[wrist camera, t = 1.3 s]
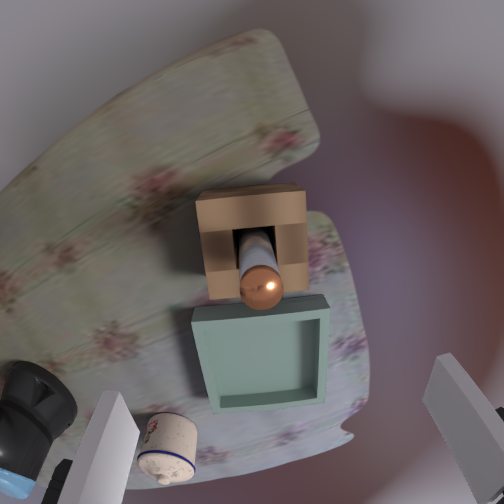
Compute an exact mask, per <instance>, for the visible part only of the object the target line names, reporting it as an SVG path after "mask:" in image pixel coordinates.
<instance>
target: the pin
mask: <svg viewBox="0 0 504 504" xmlns="http://www.w3.org/2000/svg"><path fill="white" fill-rule="evenodd" d="M239 281H240V296H241V299H242V301H243V302H244V303H245V304H246V305H247V306H249V307H250V308H253V309H256V310H266V309H269V308H272V307H274V306H275V305H276V304H277V303H279V301H280V300H281V298H282V296H283V293H284V286H283V283H282V279H281V276H280V273H279V269H278V266H277V263H276V259H275V256H274V253H273V249H272V246H271V243H270V240H269V236H268V233H267V230H266V227H265V226H263V227H252V228H242V229H239Z"/></svg>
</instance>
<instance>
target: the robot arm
mask: <svg viewBox="0 0 504 504" xmlns="http://www.w3.org/2000/svg"><path fill="white" fill-rule="evenodd" d="M422 401H423V403H424V404H425V406H426V408H427V410H428V411H429V413H430V415H431V417H432V418H433V420H434V422H435V424H436V425H437V427H438V429H439V431H440V432H441V434H442V436H443V438H444V440H445V441H446V443H447V445H448V447H449V449H450V451H451V452H452V454H453V456H454V458H455V460H456V462H457V464H458V465H459V467H460V469H461V471H462V473H463V475H464V477H465V479H466V481H467V483H468V485H469V487H470V489H471V491H472V493H473V495H474V497H475V499H476V501H477V503H478V504H488V503H490V502H492V501H494V500H495V499H496V498H497V497H498V496H499V495H500V494H501V493H503V495H504V408H502V407H500V408H498V409H496V410H495V409H494V408H493V407H492V405H491V404H490V403H489V401H488V400H487V399H486V397H485V396H484V395H483V393H482V392H481V391H480V389H479V388H478V387H477V386H476V384H475V383H474V382H473V380H472V379H471V378H470V377H469V375H468V374H467V373H466V371H465V370H464V369H463V368H462V367H461V365H460V364H459V363H458V362H457V360H456V359H455V358H454V357H453V356H452V354H451V353H447V354H444V355H441V356H437V357H436V360H435V363H434V367H433V370H432V373H431V376H430V379H429V382H428V385H427V388H426V391H425V394H424V397H423V400H422ZM76 415H77V405H76V402H75V400H74V398H73V396H72V395H71V393H70V392H69V390H68V389H67V388H66V387H65V386H64V385H63V384H62V383H61V382H60V381H59V380H58V379H57V378H56V377H55V376H53V375H52V374H51V373H49V372H48V371H46V370H45V369H43V368H41V367H39V366H37V365H35V364H32V363H29V362H18V363H15V364H14V365H13V366H12V368H11V369H10V370H9V372H8V373H7V376H6V382H5V385H4V388H3V392H2V395H1V399H0V492H2V493H4V494H6V495H8V496H10V497H13V498H17V499H25V498H27V497H28V495H29V494H30V492H31V490H32V488H33V486H34V485H35V484H36V480H37V477H38V475H39V472H40V470H41V468H42V465H43V463H44V461H45V458H46V456H47V454H48V452H49V449H50V447H51V445H52V443H53V441H54V440H55V439H56V438H57V437H58V436H59V435H60V434H61V433H63V431H64V430H65V429H67V428H68V427H70V426H71V425H72V423H73V422H74V419H75V417H76ZM139 434H140V431H139V430H138V428H137V426H136V424H135V422H134V420H133V418H132V416H131V414H130V412H129V410H128V408H127V406H126V404H125V402H124V400H123V397H122V395H121V393H120V391H106V390H104V391H103V393H102V395H101V397H100V400H99V402H98V404H97V406H96V408H95V411H94V413H93V415H92V418H91V420H90V422H89V424H88V427H87V429H86V431H85V434H84V436H83V438H82V441H81V443H80V446H79V448H78V451H77V453H76V455H75V458H74V460H73V461H72V460H68V459H63V460H62V461H61V462H60V463H59V464H58V466H57V467H56V468H55V470H54V473H53V475H52V480H50V483H49V485H48V488H47V490H46V493H45V495H44V498H43V501H42V503H41V504H121V503H122V499H123V494H124V491H125V487H126V483H127V479H128V475H129V471H130V467H131V463H132V460H133V456H134V452H135V449H136V445H137V441H138V438H139ZM496 504H504V497H502V498H501V499H500V500H499V501H498V502H497V503H496Z"/></svg>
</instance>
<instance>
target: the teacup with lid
mask: <svg viewBox="0 0 504 504" xmlns="http://www.w3.org/2000/svg"><path fill="white" fill-rule="evenodd" d="M197 434H198V432H197V428H196V426H195V425H194V424H193V423H192V422H191V421H190V420H188V419H187V418H185V417H182V416H180V415H176V414H171V413H161V414H157V415H154V416H152V417H151V418H150V419H149V421H148V424H147V428H146V432H145V436H144V440H143V444H142V448H141V452H140V454H139V455H138V457H137V462H138V465H139V467H140V469H141V470H142V471H143V472H144V473H146V474H147V475H149V476H151V477H153V478H155V479H157V481H158V482H159V483H160V484H163V485H168V484H169V483H170V482H183V481H186V480H189V479H190V478H191V477H193V475H194V473H195V467H194V463H195V453H196V443H197Z"/></svg>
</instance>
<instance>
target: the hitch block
mask: <svg viewBox="0 0 504 504" xmlns="http://www.w3.org/2000/svg"><path fill="white" fill-rule="evenodd" d="M195 202H196V210H197V218H198V225H199V232H200V239H201V246H202V253H203V259H204V266H205V272H206V279H207V285H208V291H209V297H210V300H212V299H224V298H235V297H241V296H240V281H239V249H237V248H236V238H235V229H242V228H252V227H263V226H270V229H271V243H272V249H273V253H274V256H275V259H276V263H277V266H278V269H279V273H280V276H281V279H282V283H283V286H284V293H286V292H295V291H304V290H309V270H308V236H307V212H306V193H305V190H304V189H302V188H301V187H300V186H298V185H297V184H296V183H281V184H269V185H257V186H246V187H236V188H226V189H217V190H208V191H202V193H201V194H200V195H199V197H198V198H197V200H196V201H195Z"/></svg>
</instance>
